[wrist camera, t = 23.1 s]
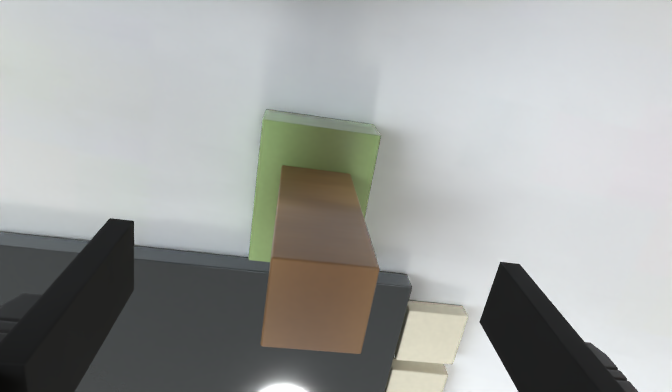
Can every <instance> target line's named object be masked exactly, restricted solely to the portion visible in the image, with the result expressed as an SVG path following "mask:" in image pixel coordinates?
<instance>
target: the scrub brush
mask: <svg viewBox="0 0 672 392" xmlns="http://www.w3.org/2000/svg"><path fill="white" fill-rule="evenodd" d="M380 139H381V136H380V134H379V132H378V131H377V129H376V128H375V126H374V125H373V124H366V123H359V122H352V121H345V120H338V119H331V118H324V117H317V116H310V115H303V114H296V113H289V112H282V111H275V110H268V109H267V110H266V111H265V114H264V117H263V120H262V130H261V140H260V150H259V160H258V170H257V179H256V189H255V199H254V209H253V219H252V228H251V238H250V248H249V258H248V259H249V260H253V261H263V262H270V267H269V276H268V284H267V293H266V301H265V310H264V318H263V327H262V335H261V346H262V347H275V348H288V349H301V350H314V351H327V352H340V353H353V354H360V353H361V351H362V346H363V342H364V337H365V333H366V329H367V324H368V320H369V315H370V311H371V306H372V302H373V297H374V293H375V288H376V284H377V279H378V275H379V270H380V268H379V265H378V262H377V258H376V255H375V252H374V249H373V246H372V242H371V239H370V236H369V233H368V229H367V226H366V223H365V220H364V219H365V214H366V209H367V204H368V199H369V194H370V189H371V184H372V179H373V174H374V169H375V164H376V159H377V154H378V149H379V144H380Z"/></svg>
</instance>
